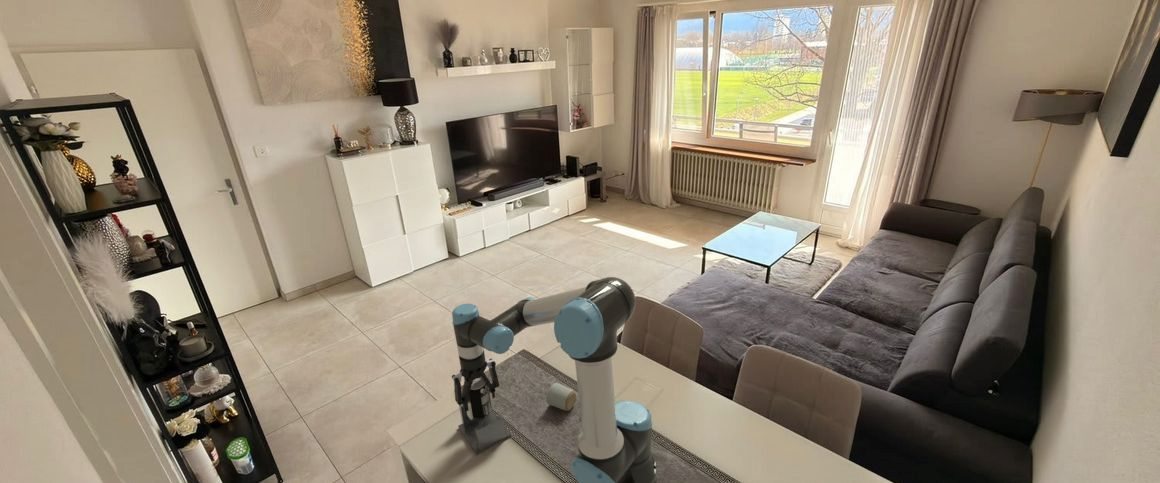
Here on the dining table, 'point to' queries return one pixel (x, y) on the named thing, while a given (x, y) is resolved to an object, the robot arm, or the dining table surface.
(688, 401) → the dining table surface
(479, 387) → the beverage can
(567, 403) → the ceramic mug
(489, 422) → the holder
